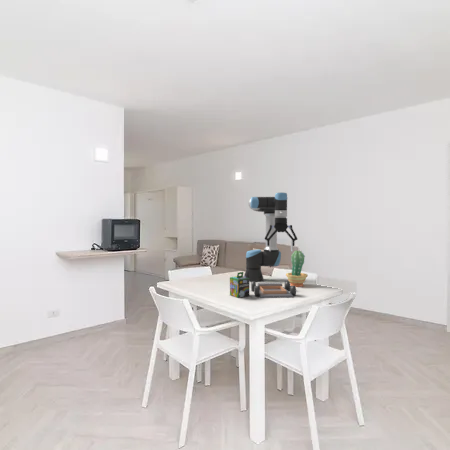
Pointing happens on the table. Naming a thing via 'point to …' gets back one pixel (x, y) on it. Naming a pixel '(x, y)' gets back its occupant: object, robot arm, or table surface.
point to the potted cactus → (297, 270)
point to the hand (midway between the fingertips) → (280, 251)
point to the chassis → (273, 290)
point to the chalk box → (239, 286)
